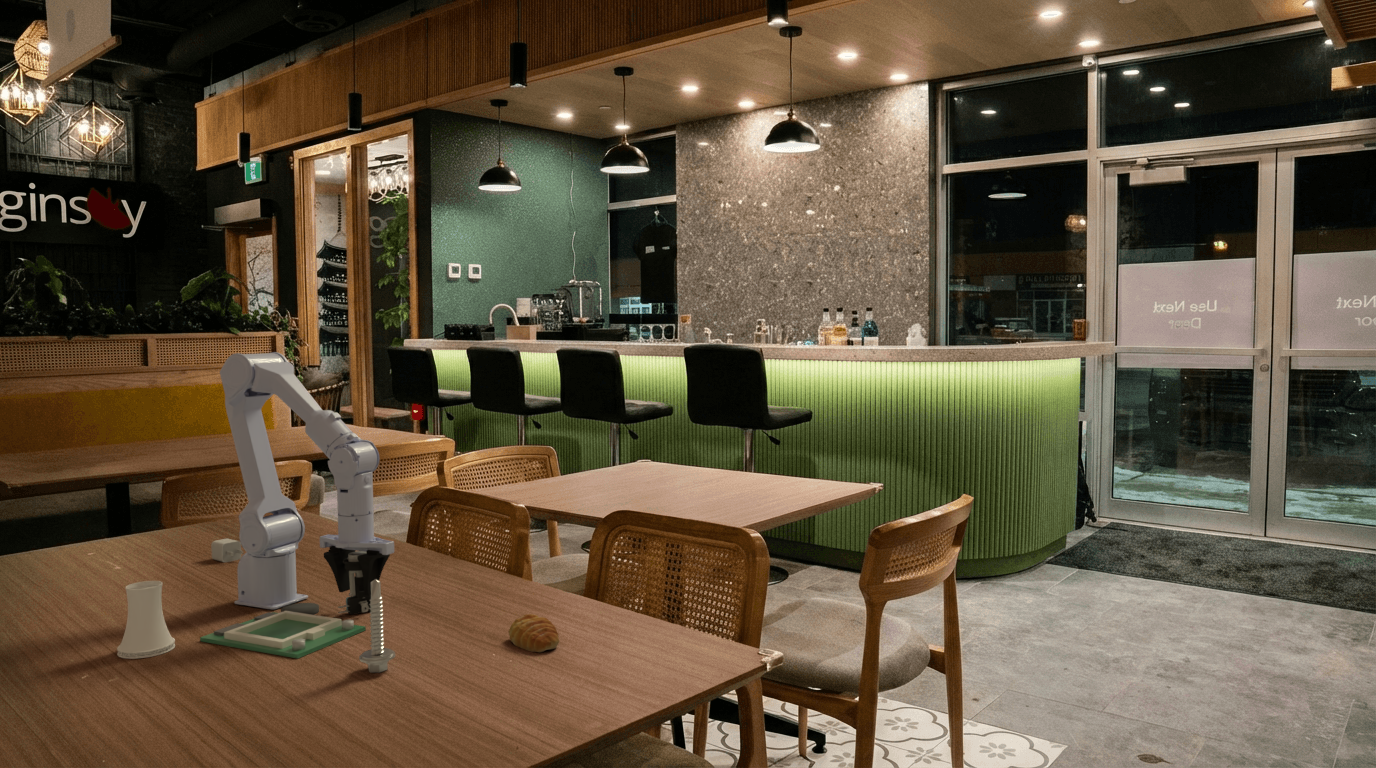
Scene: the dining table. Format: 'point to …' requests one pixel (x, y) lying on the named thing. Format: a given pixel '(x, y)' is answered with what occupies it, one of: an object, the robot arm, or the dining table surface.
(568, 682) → the dining table surface
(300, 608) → the dark gray round disc
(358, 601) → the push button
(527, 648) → the pastry
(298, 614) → the circuit board
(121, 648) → the cooling tower
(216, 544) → the usb wall charger
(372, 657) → the screw
